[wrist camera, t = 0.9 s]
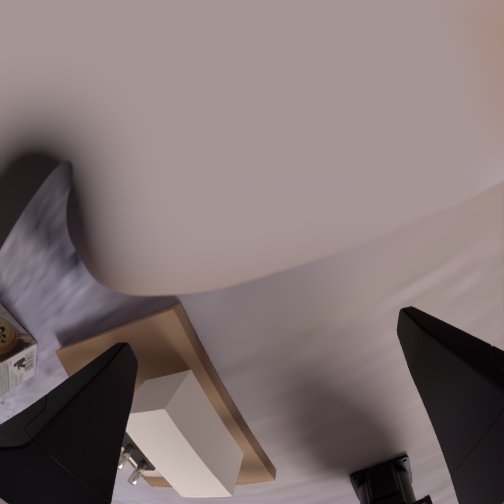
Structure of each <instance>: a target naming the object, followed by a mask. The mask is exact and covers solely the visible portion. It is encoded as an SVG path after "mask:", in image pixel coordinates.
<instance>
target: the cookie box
mask: <svg viewBox="0 0 504 504" xmlns="http://www.w3.org/2000/svg"><path fill="white" fill-rule="evenodd" d="M36 354H37V342H36V340H35V339H33V338H32V337H31V336H30V335H29V334H28V333H27V332H26V331H25V329H24V328H23V327H22V326H21V325H20V324H19V323H18V322H17V321H16V320H15V319H14V318H13V317H12V316H11V314H10V313H9V312H8V311H7V310H6V309H5V308H4V307H3V305H2V304H1V303H0V398H1V397H3V396H4V395H5V394H7V393H8V392H10V391H11V390H13V389H14V388H16V387H17V386H19V385H20V384H21V383H23V382H24V381H26V380H27V379H29V378H30V377H32V376H33V375H35V367H36Z"/></svg>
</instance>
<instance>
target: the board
mask: <svg viewBox="0 0 504 504" xmlns="http://www.w3.org/2000/svg"><path fill="white" fill-rule="evenodd" d="M118 342H127V343H129V344H130V346H131V348H132V350H133V352H134V354H135V356H136V358H137V360H138V370H137V377H136V383H135V390H134V393H135V392H136V391H137V390H138V388H139V387H140V386H141V385H142V384H143V383H144V382H145V381H146V380H150V379H154V378H159V377H163V376H167V375H171V374H175V373H179V372H183V371H187V370H192V372H193V374H194V375H195V377H196V379H197V381H198V382H199V384H200V386H201V387H202V389H203V391H204V392H205V394H206V396H207V397H208V399H209V401H210V402H211V404H212V406H213V407H214V409H215V411H216V412H217V414H218V415H219V417H220V418H221V420H222V422H223V423H224V425H225V426H226V428H227V429H228V431H229V432H230V434H231V435H232V437H233V438H234V440H235V441H236V443H237V444H238V446H239V447H240V449H241V450H242V451H243V453H244V455H243V459H242V462H241V466H240V470H239V474H238V477H237V481H236V485H242V484H251V483H259V482H266V481H273V480H275V475H276V469H275V468H274V466H273V465H272V463H271V462H270V460H269V459H268V457H267V456H266V454H265V453H264V451H263V449H262V448H261V446H260V445H259V443H258V442H257V440H256V439H255V437H254V435H253V434H252V432H251V431H250V429H249V427H248V426H247V424H246V422H245V421H244V419H243V418H242V416H241V414H240V413H239V411H238V409H237V407H236V406H235V404H234V402H233V401H232V399H231V397H230V395H229V394H228V392H227V390H226V388H225V387H224V385H223V383H222V381H221V380H220V378H219V376H218V374H217V372H216V371H215V369H214V367H213V365H212V363H211V361H210V359H209V358H208V356H207V354H206V352H205V350H204V348H203V346H202V344H201V342H200V340H199V338H198V336H197V334H196V333H195V331H194V329H193V327H192V325H191V323H190V321H189V318H188V316H187V314H186V312H185V310H184V308H183V306H182V304H181V303H179V304H176V305H174V306H171V307H169V308H166V309H163V310H161V311H158V312H155V313H153V314H150V315H147V316H145V317H142V318H140V319H137V320H134V321H131V322H129V323H126V324H123V325H121V326H118V327H115V328H113V329H110V330H107V331H104V332H102V333H99V334H96V335H93V336H91V337H88V338H85V339H82V340H80V341H77V342H74V343H71V344H68V345H66V346H63V347H62V348H60V349H58V350H57V351H55V352H56V354H57V356H58V358H59V360H60V361H61V363H62V365H63V367H64V369H65V371H66V372H67V374H68V376H69V377H70V376H72V375H73V374H75V373H76V372H77V371H79V370H80V369H81V368H83V367H84V366H85V365H87V364H88V363H90V362H91V361H92V360H94V359H95V358H96V357H98V356H99V355H101V354H102V353H103V352H105V351H106V350H107V349H109V348H110V347H112V346H113V345H114V344H116V343H118ZM123 450H124V448H123V447H122V449H121V453H122V451H123ZM128 461H129V462H130V463H131V465H132V466H133V467H134V468H136V467H137V464H136V463H135V462H134V460H133V459H132V458H131V457H129V458H128ZM141 476H142V477H143V478H144V479H145V480H146V481H147V482H148V483H149V484H150V485H151V486H154V487H172V486H171V484H170V483H169V482H168V481H167V480H166V479H165V478H164V477H163V476H162V475H161V474H160V472H159V471H158V470H157V469H155V470H154V471H145V470H144V472H143V474H142V475H141Z"/></svg>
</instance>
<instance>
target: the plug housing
mask: <svg viewBox="0 0 504 504" xmlns="http://www.w3.org/2000/svg"><path fill="white" fill-rule="evenodd" d="M126 432H127V433H128V434H129V436H130V437H131V438H132V440H133V441H134V442H135V444H136V445H137V446H138V447H139V449H140V450H141V451H142V452H143V454H144V455H145V456H146V457H147V458H148V460H149V461H150V462H151V463H152V464H153V466H154V467H155V468H156V469H157V470H158V471H159V472H160V474H161V475H162V476H163V477H164V478H165V479H166V480H167V481H168V482H169V483H170V484H171V486H172V487H173V488H174V489H175V490H176V491H177V492H178V493H179V494H180V495H181V496H182V497H228V496H233V492H234V489H235V485H236V481H237V477H238V474H239V470H240V466H241V462H242V459H243V455H244V453H243V451H242V450H241V449H240V447H239V446H238V444H237V443H236V441H235V440H234V438H233V437H232V435H231V434H230V432H229V431H228V429H227V428H226V426H225V425H224V423H223V422H222V420H221V418H220V417H219V415H218V414H217V412H216V411H215V409H214V407H213V406H212V404H211V402H210V401H209V399H208V397H207V396H206V394H205V392H204V391H203V389H202V387H201V386H200V384H199V382H198V381H197V379H196V377H195V375H194V374H193V372H192V370H187V371H183V372H179V373H175V374H171V375H167V376H163V377H159V378H154V379H150V380H146V381H145V382H144V383H143V384H142V385H141V386H140V387H139V388H138V390H137V391H136V392H135V393H134V397H133V402H132V407H131V411H130V415H129V419H128V423H127V427H126Z"/></svg>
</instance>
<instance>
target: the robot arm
mask: <svg viewBox="0 0 504 504" xmlns="http://www.w3.org/2000/svg"><path fill="white" fill-rule="evenodd" d="M397 335H398V338H399V341H400V344H401V347H402V350H403V353H404V356H405V359H406V362H407V365H408V368H409V371H410V373H411V376H412V378H413V380H414V383H415V385H416V387H417V389H418V392H419V394H420V396H421V399H422V401H423V403H424V406H425V408H426V411H427V413H428V416H429V418H430V421H431V423H432V426H433V428H434V431H435V433H436V436H437V439H438V441H439V444H440V447H441V450H442V452H443V455H444V458H445V461H446V464H447V467H448V470H449V473H450V475H451V479H452V483H453V486H454V489H455V492H456V496H457V499H458V503H459V504H504V351H503V350H501V349H499V348H497V347H495V346H491V344H489V343H487V342H485V341H483V340H481V339H479V338H477V337H475V336H472V335H470V334H468V333H466V332H464V331H462V330H460V329H458V328H456V327H454V326H452V325H450V324H448V323H446V322H444V321H442V320H440V319H438V318H436V317H434V316H431V315H429V314H427V313H425V312H423V311H421V310H419V309H417V308H415V307H412V306H409V307H405V308H402V309H400V311H399V317H398V324H397ZM137 370H138V360H137V358H136V356H135V354H134V352H133V350H132V348H131V346H130V344H129V343H127V342H118V343H116V344H114V345H113V346H112V347H110V348H109V349H107V350H106V351H105V352H103V353H102V354H101V355H99V356H98V357H96V358H95V359H94V360H92V361H91V362H90V363H88V364H87V365H85V366H84V367H83V368H81V369H80V370H79V371H77V372H76V373H75V374H73V375H72V376H70V377H69V378H68V379H66V380H65V381H64V382H62V383H61V384H60V385H58V386H57V387H56V388H54V389H53V390H51V391H50V392H49V393H48V394H46V395H45V396H43V397H42V398H41V399H39V400H38V401H36V402H35V403H33V404H32V405H31V406H29V407H28V408H26V409H25V410H23V411H21V412H20V413H18V414H17V415H15V416H13V417H12V418H10V419H9V420H7V421H5V422H4V423H2V424H1V425H0V504H111V500H112V495H113V490H114V484H115V479H116V474H117V468H118V464H119V459H120V454H121V449H122V445H123V440H124V436H125V432H126V427H127V423H128V419H129V415H130V411H131V407H132V402H133V397H134V390H135V383H136V377H137ZM350 481H351V483H352V485H353V487H354V490H355V492H356V494H357V496H358V499H359V501H360V504H432V501H431V498H430V496H429V495H427V496H425V497H424V498H422V499H420V500H418V501H416V498H415V495H414V492H413V488H412V485H411V484H412V476H411V468H410V462H409V457H408V455H404V456H402V457H399V458H397V459H394V460H391V461H389V462H386V463H383V464H381V465H378V466H375V467H372V468H369V469H366V470H363V471H360V472H357V473H353V474H351V475H350Z"/></svg>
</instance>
